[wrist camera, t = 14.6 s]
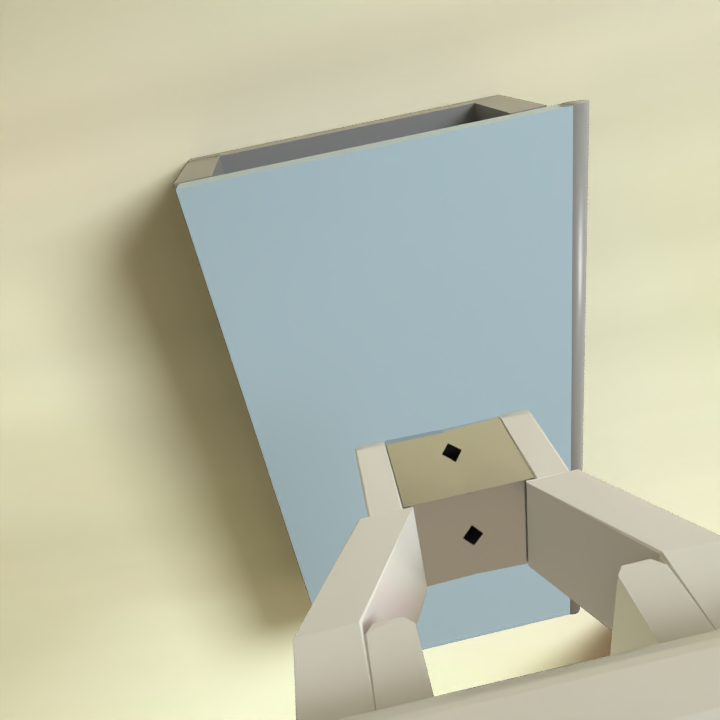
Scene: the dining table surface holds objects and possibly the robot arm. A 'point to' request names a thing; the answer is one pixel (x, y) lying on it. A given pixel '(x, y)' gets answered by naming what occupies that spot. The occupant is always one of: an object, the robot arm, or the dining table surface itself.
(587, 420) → the dining table surface
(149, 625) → the dining table surface
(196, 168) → the cable duct
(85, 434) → the dining table surface
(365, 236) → the panel
